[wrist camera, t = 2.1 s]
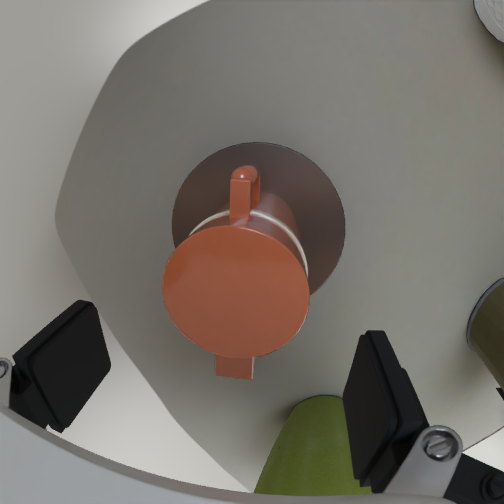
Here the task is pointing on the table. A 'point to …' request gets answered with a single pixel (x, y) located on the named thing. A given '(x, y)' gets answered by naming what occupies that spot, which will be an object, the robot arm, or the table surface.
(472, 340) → the canister
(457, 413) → the table surface
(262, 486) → the flower pot
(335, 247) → the turntable
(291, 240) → the jug
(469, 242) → the table surface
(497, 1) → the white cup
